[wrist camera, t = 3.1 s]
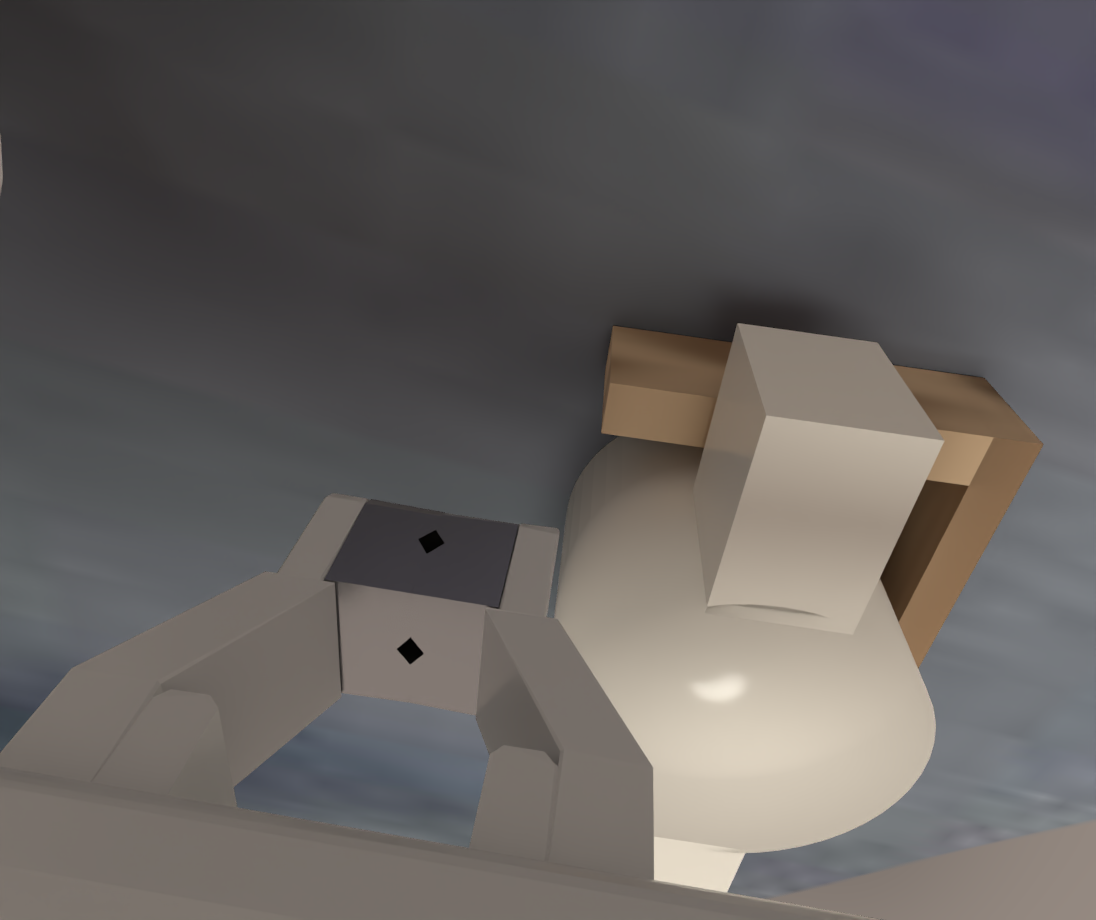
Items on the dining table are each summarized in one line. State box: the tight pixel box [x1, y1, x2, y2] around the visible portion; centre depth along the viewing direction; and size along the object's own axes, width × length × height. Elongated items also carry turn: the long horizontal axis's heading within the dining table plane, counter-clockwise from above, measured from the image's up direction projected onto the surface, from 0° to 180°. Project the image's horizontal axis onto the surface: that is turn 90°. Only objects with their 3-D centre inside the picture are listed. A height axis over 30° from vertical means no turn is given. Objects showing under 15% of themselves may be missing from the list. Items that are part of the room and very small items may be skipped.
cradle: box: [601, 326, 1043, 668], centre depth 19 cm, size 9×11×3 cm
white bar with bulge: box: [554, 323, 944, 892], centre depth 19 cm, size 8×17×7 cm, turn 174°
